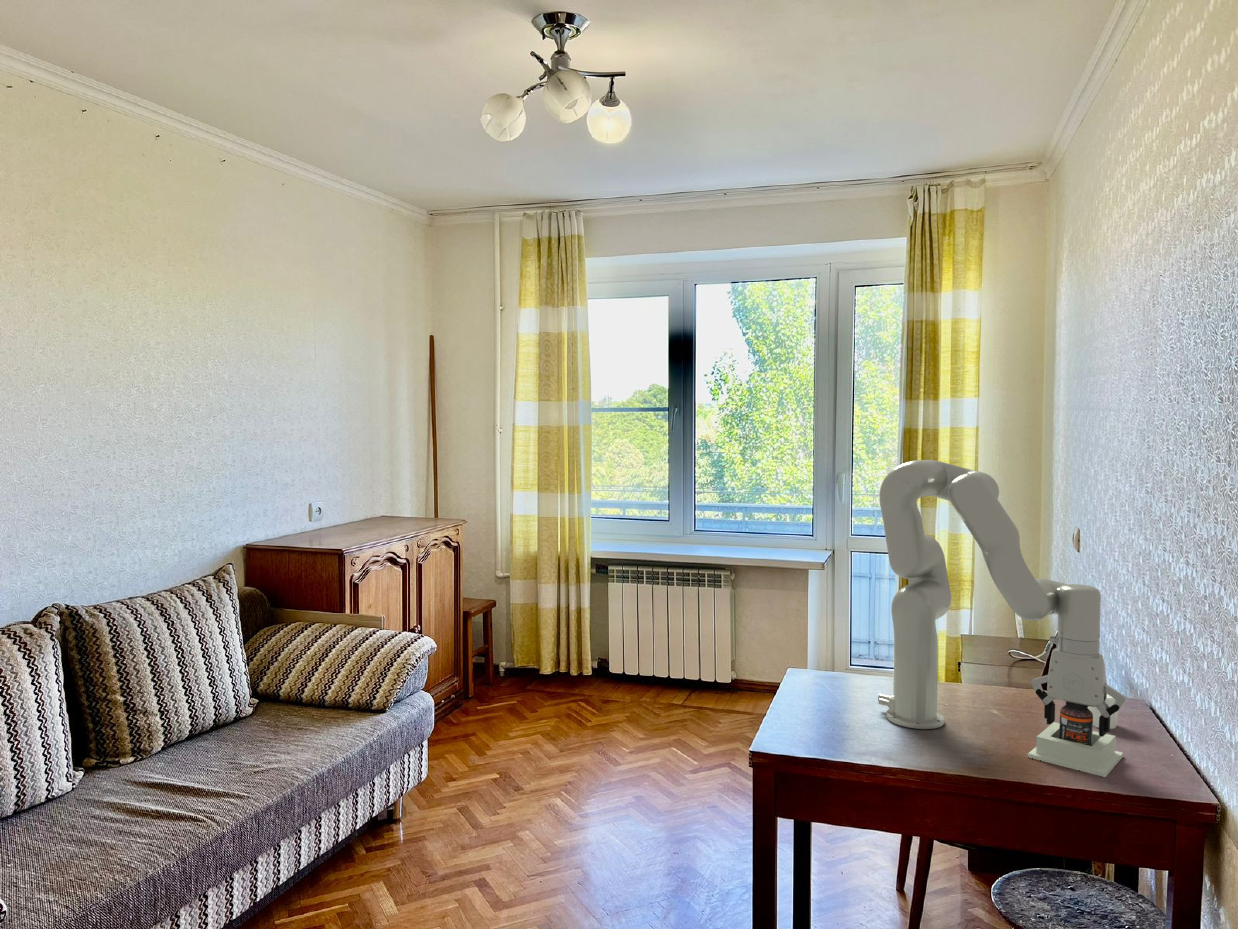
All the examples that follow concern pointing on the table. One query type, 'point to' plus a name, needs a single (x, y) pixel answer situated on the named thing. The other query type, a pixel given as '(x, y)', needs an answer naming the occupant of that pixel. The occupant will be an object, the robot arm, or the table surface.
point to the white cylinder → (1097, 714)
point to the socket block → (1077, 752)
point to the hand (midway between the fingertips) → (1076, 728)
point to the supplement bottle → (1076, 723)
